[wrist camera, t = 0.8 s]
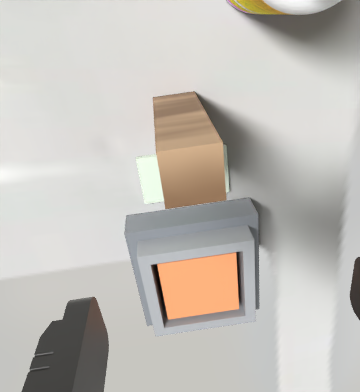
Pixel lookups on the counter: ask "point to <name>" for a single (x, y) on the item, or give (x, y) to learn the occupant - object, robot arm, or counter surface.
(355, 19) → the counter surface
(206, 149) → the walnut block
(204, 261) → the button
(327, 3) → the supplement bottle
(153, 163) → the sage mat
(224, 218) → the grey open square box
